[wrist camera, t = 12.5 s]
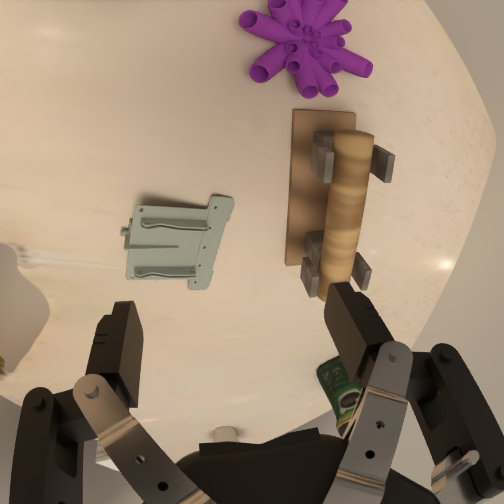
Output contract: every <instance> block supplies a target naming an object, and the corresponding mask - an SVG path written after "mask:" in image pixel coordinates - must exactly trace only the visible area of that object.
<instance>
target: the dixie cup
mask: <svg viewBox="0 0 504 504" xmlns="http://www.w3.org/2000/svg"><path fill="white" fill-rule="evenodd" d="M224 441H232V442H239V441H238V437H237V434H236V431H235V428H233V427H228V426H225V427H219V428H216V429H215V430H214V442H224Z"/></svg>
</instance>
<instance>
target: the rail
mask: <svg viewBox="0 0 504 504" xmlns="http://www.w3.org/2000/svg"><path fill="white" fill-rule="evenodd" d="M373 143H374V136H373V135H371V134H369V133H365V132H361V131H356V130H348V129H338V130H335V134H334V146H333V152H334V162H333V172H332V182H331V183H330V188H329V197H328V206H327V214H326V222H325V230H324V238H323V245H322V252H321V260H320V266H319V273H318V275H319V281H318V287H317V293H316V295H317V296H318V298H320V299H321V300H322V301H325V302H326V298H327V293H328V288H329V285H330V283H336V282H344V281H348V282H350V278H351V273H352V269H353V264H354V259H355V254H356V249H357V244H358V239H359V234H360V229H361V223H362V218H363V212H364V206H365V200H366V194H367V187H368V181H369V174H370V167H371V159H372V151H373Z"/></svg>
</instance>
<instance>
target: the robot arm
mask: <svg viewBox="0 0 504 504" xmlns="http://www.w3.org/2000/svg"><path fill="white" fill-rule="evenodd" d="M324 319H325V323H326V325H327V328H328V330H329V332H330V334H331V337H332V339H333V341H334V343H335V346H336V348H337V350H338V352H339V355H340V357H341V359H342V362H343V364H344V366H345V369H346V371H347V373H348V375H349V378H350V380H351V382H352V383H355V382H359V381H361V382H362V385H363V387H362V389H361V392H360V395H359V398H358V400H357V403H356V406H355V409H354V411H353V414H352V416H351V419H350V421H349V424H348V426H347V428H346V430H345V432H344V435H343V437H342V438H339V437H336V436H331V435H326V434H319V431H318V428H317V427H316V428H312V429H306V430H301V431H296V432H291V433H287V434H285V435H283V436H280V437H278V438H275V439H273V440H271V441H268V442H265V443H263V444H251V443H241V442H232V441H224V442H213V443H199V451H196V452H193V453H191V454H189V455H187V456H185V457H183V458H182V459H180V460H179V461H178V462H176V463H174V462H173V461H172V460H171V459H170V458H169V457H168V456H167V455H166V453H165V452H164V451H163V450H162V449H161V448H160V447H159V446H158V444H157V443H156V442H155V441H154V440H153V439H152V438H151V436H150V435H149V434H148V433H147V432H146V430H145V429H144V428H143V427H142V426H141V424H140V423H139V422H138V421H137V420H136V419H135V418H134V417H133V416H132V415H131V414H130V412H129V408H138V395H139V382H140V370H141V360H142V350H143V329H142V325H141V322H140V319H139V316H138V313H137V309H136V306H135V303H134V301H119V302H115V304H114V307H113V311H112V315H104V316H103V318H102V319H101V320H100V322H99V323H98V324H97V328H96V332H95V336H94V340H93V344H92V348H91V352H90V356H89V360H88V365H87V369H86V374H85V376H83V377H81V378H80V379H79V380H78V381H77V382H76V383H75V385H74V388H73V389H70V390H67V391H64V392H60V393H56V394H52V393H51V391H50V390H48V389H47V388H44V387H37V388H34V389H32V390H31V391H29V392H28V393H27V395H26V396H25V398H24V401H23V405H22V410H21V415H20V420H19V425H18V431H17V436H16V442H15V449H14V456H13V464H12V473H11V483H10V497H9V504H83V499H82V498H83V495H82V494H83V491H82V490H83V480H82V478H83V449H84V441H88V440H92V439H96V438H99V442H100V444H101V445H102V447H103V449H104V450H105V451H106V453H107V454H108V456H109V457H110V459H111V460H112V461H113V463H114V464H115V466H116V467H117V468H118V470H119V471H120V472H121V474H122V475H123V476H124V478H125V479H126V480H127V481H128V483H129V484H130V485H131V486H132V488H133V489H134V490H135V491H136V493H137V494H138V495H139V496H140V497H141V499H142V500H143V501H144V502H143V503H142V504H481V503H483V502H485V501H487V500H489V499H491V498H493V497H494V496H496V495H498V494H500V493H501V492H503V491H504V436H503V433H502V431H501V429H500V427H499V425H498V423H497V421H496V419H495V417H494V415H493V413H492V411H491V409H490V407H489V405H488V404H487V402H486V400H485V398H484V396H483V394H482V392H481V391H480V389H479V387H478V385H477V383H476V381H475V380H474V378H473V376H472V375H471V373H470V371H469V369H468V368H467V366H466V364H465V362H464V361H463V359H462V357H461V356H460V354H459V353H458V351H457V350H456V349H455V348H454V347H452V346H451V345H449V344H444V343H440V344H437V345H435V346H434V347H433V348H432V350H431V351H430V352H412V351H411V350H410V348H409V347H408V346H406V345H405V344H403V343H401V342H398V341H395V340H394V338H393V337H392V335H391V333H390V332H389V330H388V328H387V327H386V325H385V323H384V322H383V320H382V319H381V317H380V316H379V314H378V312H377V311H376V309H374V306H373V304H372V303H371V301H370V299H369V298H368V297H366V296H365V295H364V294H362V293H361V292H355V291H354V290H353V288H352V286H351V285H350V283H349V282H348V281H344V282H336V283H330V285H329V288H328V293H327V298H326V304H325V309H324ZM408 401H409V402H410V404H411V407H412V409H413V411H414V414H415V416H416V418H417V421H418V423H419V426H420V428H421V431H422V433H423V436H424V438H425V440H426V443H427V446H428V448H429V451H430V453H431V456H432V459H433V461H434V464H435V467H434V469H433V471H432V474H431V487H432V491H430V490H428V489H426V488H424V487H423V486H421V485H419V484H417V483H416V482H414V481H412V480H410V479H409V478H407V477H405V476H403V475H401V474H400V473H398V472H396V471H395V470H393V469H391V468H390V466H391V464H392V460H393V457H394V454H395V450H396V447H397V444H398V440H399V436H400V433H401V429H402V425H403V422H404V418H405V414H406V410H407V405H408Z"/></svg>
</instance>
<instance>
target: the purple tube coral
mask: <svg viewBox="0 0 504 504" xmlns="http://www.w3.org/2000/svg"><path fill="white" fill-rule="evenodd" d="M347 2H348V0H303V1H302V0H269V1H268V8H269V11H270V13H271V15H272V17H273V18H271V17H269V16H266V15H264V14H262V13H259V12H256V11H253V10H248V11H245V12H243V13H242V14H241V15H240V17H239V25H240V26H241V27H242V28H243V29H244V30H246V31H247V32H249V33H251V34H253V35H256V36H259V37H261V38H264V39H267V40H270V41H273V42H277V43H279V44H278V45H276V46H274V47H273V48H271V49H270V50H268V51H267V52H266V53H264V54H263V55H262V56H260V57H259V58H258V59H257V60H256V61H255V62H254V63H253V64H252V66H251V68H250V70H249V73H250V77H251V78H252V79H253V80H254V81H256V82H258V83H264V82H267V81H268V80H270V79H271V78H272V77H273V76H275V75H276V74H277V73H278V72H280V71H281V70H282V69H283V68H286V70H287V71H288V72H290V73H294V75H295V81H296V84H297V88H298V90H299V92H300V94H301V95H302V96H303V97H304V98H307V99H310V98H314V97H315V96H317V94H318V92H319V91H320V93H321V94H322V95H323V96H325V97H332V96H334V95H336V94H337V92H338V90H339V87H338V85H337V83H336V81H335V80H334V78H333V76H332V75H331V73H334V74H335V73H338V72H339V71H340V70H341V69H342V70H344V71H346V72H349V73H351V74H354V75H356V76H359V77H363V78H368V77H369V76H370V74H371V73H372V69H373V64H372V62H370V61H369V60H367V59H365V58H363V57H361V56H359V55H357V54H355V53H353V52H350V51H348V50H346V49H344V48H343V47H344V46H345V40H344V39H343V38H342V37H339V36H341V35H344V34H347V33H349V32H350V31H351V30H352V26H351V24H350V22H349V21H347V20H345V19H343V20H337V21H333V22H331V21H332V20H333V18H334V17H335V16H336V15H337V14H338V13H339V12H340V11H341V10H342V9H343V8H344V6H345V5H346V4H347Z"/></svg>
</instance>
